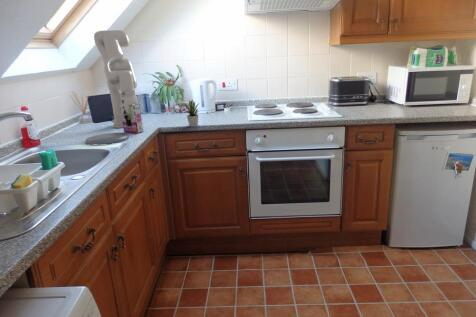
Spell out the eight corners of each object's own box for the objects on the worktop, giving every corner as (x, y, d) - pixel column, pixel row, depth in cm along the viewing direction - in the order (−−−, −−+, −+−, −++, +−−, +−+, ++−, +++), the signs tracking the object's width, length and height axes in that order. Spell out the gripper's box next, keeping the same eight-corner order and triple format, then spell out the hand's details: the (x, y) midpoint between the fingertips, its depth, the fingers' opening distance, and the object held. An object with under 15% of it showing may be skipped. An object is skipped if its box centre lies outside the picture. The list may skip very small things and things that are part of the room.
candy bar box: (144, 131, 207) (140, 103, 203) (138, 133, 203) (133, 105, 198) (129, 130, 213) (125, 103, 208) (123, 132, 208) (119, 104, 204)
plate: (76, 143, 188) (76, 140, 188) (108, 134, 207) (108, 131, 206) (106, 146, 178) (105, 143, 178) (137, 136, 197) (136, 133, 196)
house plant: (178, 124, 222) (175, 98, 217) (199, 121, 227) (196, 96, 222) (184, 128, 209) (181, 100, 204) (206, 125, 214) (204, 98, 210)
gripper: (121, 95, 192) (126, 128, 198) (143, 91, 207) (147, 122, 212) (111, 95, 196) (117, 127, 201) (133, 91, 210) (138, 121, 216)
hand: (132, 124), depth 207 cm, fingers closed on candy bar box, 5 cm apart
